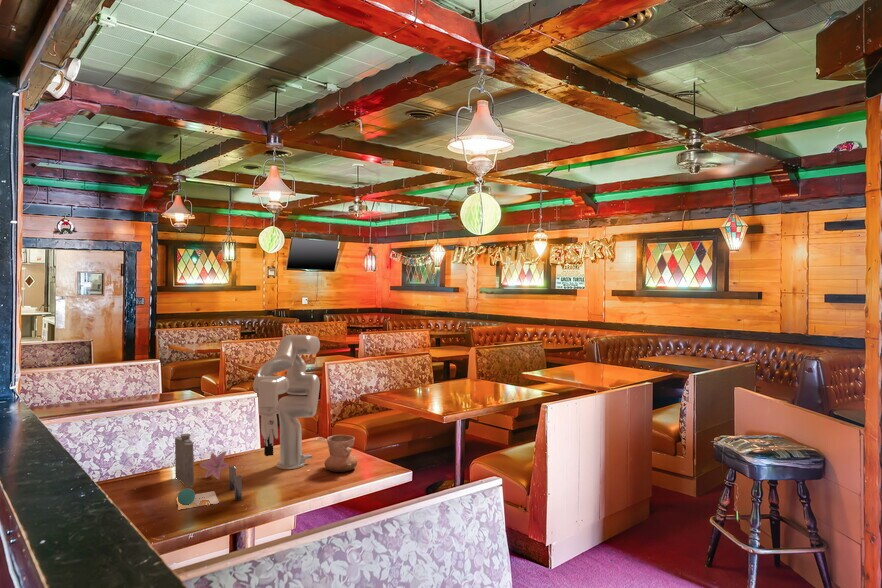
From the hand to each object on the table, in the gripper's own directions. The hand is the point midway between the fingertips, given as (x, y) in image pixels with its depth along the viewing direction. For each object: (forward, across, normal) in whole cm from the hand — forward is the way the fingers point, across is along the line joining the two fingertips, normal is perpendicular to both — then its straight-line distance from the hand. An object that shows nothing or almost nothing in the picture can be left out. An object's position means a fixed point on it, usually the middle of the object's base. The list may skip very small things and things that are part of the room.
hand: (268, 455), depth 229 cm
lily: (+14, +27, +17) cm, 35 cm away
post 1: (+13, +6, +13) cm, 20 cm away
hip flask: (+14, +25, +29) cm, 41 cm away
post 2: (+13, -7, +13) cm, 20 cm away
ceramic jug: (+14, +9, -33) cm, 37 cm away
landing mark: (+13, 0, +27) cm, 30 cm away
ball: (+10, -2, +31) cm, 33 cm away
